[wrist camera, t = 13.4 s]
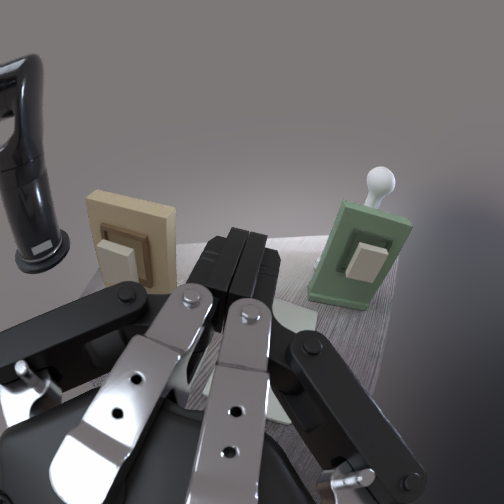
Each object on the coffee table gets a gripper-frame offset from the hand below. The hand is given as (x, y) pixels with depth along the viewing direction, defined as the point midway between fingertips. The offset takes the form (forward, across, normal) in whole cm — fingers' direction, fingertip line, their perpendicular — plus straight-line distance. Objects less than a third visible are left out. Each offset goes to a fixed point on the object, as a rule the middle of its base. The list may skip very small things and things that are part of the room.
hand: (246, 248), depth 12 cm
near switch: (+8, +13, +15) cm, 21 cm away
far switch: (+19, -14, +15) cm, 27 cm away
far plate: (+22, -14, +22) cm, 34 cm away
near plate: (+10, +13, +22) cm, 27 cm away
